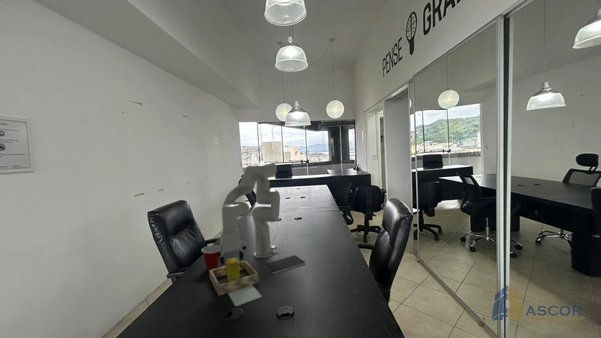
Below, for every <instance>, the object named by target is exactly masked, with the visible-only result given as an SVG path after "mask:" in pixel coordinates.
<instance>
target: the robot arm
mask: <svg viewBox="0 0 601 338" xmlns="http://www.w3.org/2000/svg"><path fill="white" fill-rule="evenodd" d="M277 169H278V167H277V165H276V164H275V163H274V162H257V163H256V162H255V163H253V164H251V165H250V164H249V165H247V166H246V167H245V169H244V172H243V175H242V177H241V179H240V182H239V184H238V185H237V186H236V187H234V188H233V189H231V191H229V193H227V195H226V197H225V199H224V202H223V205H222V208H221V216H222V217H221V218H222V219H221V221H222V222H221V224H222V231H221V232H220V242H219V245H216V246H217V247H216V248H214V251H215V253H216V254H217V255H218V256H219V263H220V264H221V265H222V266H225V265H224V264H225V259H224V258H225V257H224V255H225V254H226V253H231V252H235V251H239V253H238V254H239V257H238V258H239V260H240V261H244V260H243V258H244V252H245V250H246V249H247V246H248V244H249V243H248V242H247V241H245V240H242V237H241V233H240V230H239V229H240V228H241V224H239V223H238V222H239V221H238V220H239V219H238V218H239V217H240V218H241V217H244V216H246V215H247V214H249V211H250V206H249V204H248V203H247V202H245V201H237V199H239V198H241V197H242V196H245V195H248V194H249V193H251V192H253V190H254V188H255V185H256V191H255V201H256V204H258V205H268V206H256V207H254V208H253V209H252V212H251V216H252V220H253V224H254V225H253V226H254V238H255V239H254V241H255V251H254V252H253V257H254V258H256V259H266V258H269V257H271V256H273V254H274V251H275V250H278V245H276V246H275V245H272V246H271V232H270V225H269V224H268V223H269V222H270V223H273V222H274V223H275V222H278V220H279V218H280V209H281V208H280V207H281V196H280V195H281V194H280V192H279V191H278V190H276V189H270V186H271V185H270V184H271V183H270V180H269V179H268V178H271V177H273V176H275V175H276V174H277ZM269 205H270V206H269ZM218 249H221V250H220V253H219V252H218Z"/></svg>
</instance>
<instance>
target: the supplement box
mask: <svg viewBox="0 0 601 338" xmlns="http://www.w3.org/2000/svg"><path fill="white" fill-rule="evenodd" d="M239 262H240V258H239V257H238V256H237V257H230V258H227V259H226V266H227V275H226V276H227V283H228V282H231V281H234V280H237V279H240V278H241V275H240V274H241V273H240V271H239Z"/></svg>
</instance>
